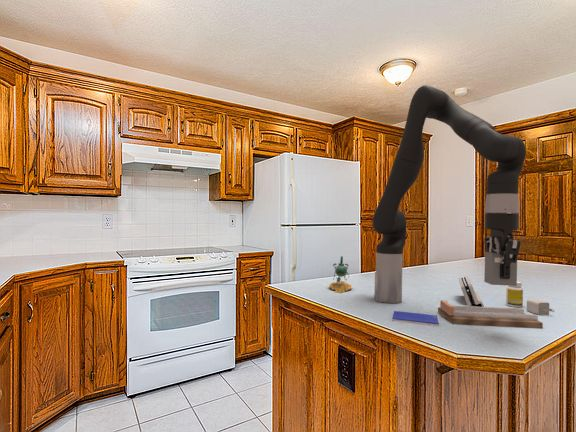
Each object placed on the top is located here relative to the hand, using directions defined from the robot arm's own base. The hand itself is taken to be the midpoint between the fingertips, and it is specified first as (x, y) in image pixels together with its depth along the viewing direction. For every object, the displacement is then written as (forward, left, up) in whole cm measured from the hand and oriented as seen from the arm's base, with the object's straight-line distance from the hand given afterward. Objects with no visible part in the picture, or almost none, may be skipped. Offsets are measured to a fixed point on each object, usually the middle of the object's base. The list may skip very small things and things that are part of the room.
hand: (500, 276), depth 88 cm
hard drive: (-19, +10, -16) cm, 26 cm away
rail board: (+3, +13, -15) cm, 20 cm away
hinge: (+8, +37, -15) cm, 40 cm away
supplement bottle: (+21, +32, -15) cm, 41 cm away
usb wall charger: (+24, +22, -15) cm, 36 cm away
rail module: (0, 0, -2) cm, 2 cm away
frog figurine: (-38, +49, -15) cm, 64 cm away
